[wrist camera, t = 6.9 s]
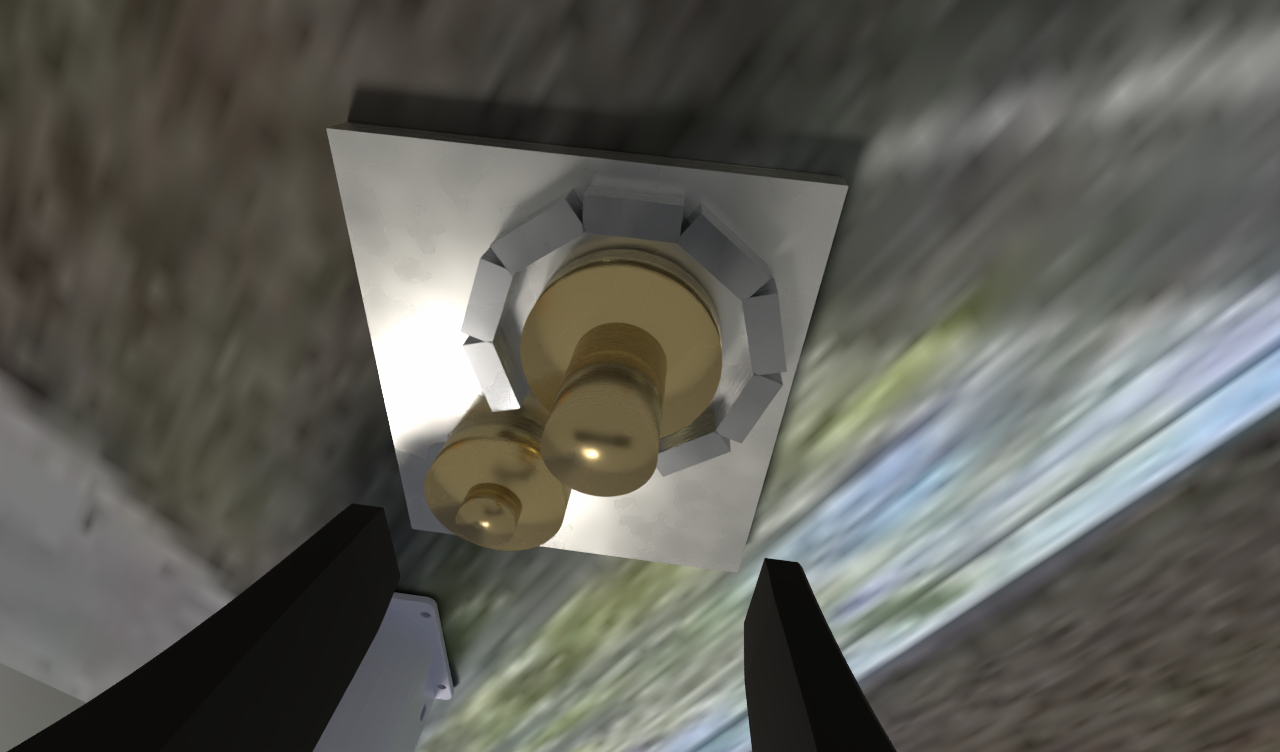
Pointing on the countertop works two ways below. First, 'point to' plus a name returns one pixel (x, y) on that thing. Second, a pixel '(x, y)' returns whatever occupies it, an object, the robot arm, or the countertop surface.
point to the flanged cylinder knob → (618, 365)
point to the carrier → (506, 293)
